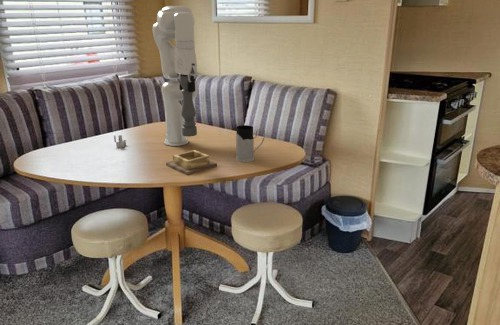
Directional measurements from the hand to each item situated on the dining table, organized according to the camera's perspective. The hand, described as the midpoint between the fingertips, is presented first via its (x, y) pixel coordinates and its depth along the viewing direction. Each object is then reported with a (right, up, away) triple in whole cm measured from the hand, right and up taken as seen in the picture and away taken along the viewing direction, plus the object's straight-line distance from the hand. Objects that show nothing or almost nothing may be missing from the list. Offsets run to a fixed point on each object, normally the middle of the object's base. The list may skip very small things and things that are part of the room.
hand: (187, 90), depth 172 cm
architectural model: (-44, -22, +40) cm, 63 cm away
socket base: (0, -31, +11) cm, 33 cm away
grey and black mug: (+26, -28, +21) cm, 44 cm away
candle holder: (0, -18, +7) cm, 19 cm away
